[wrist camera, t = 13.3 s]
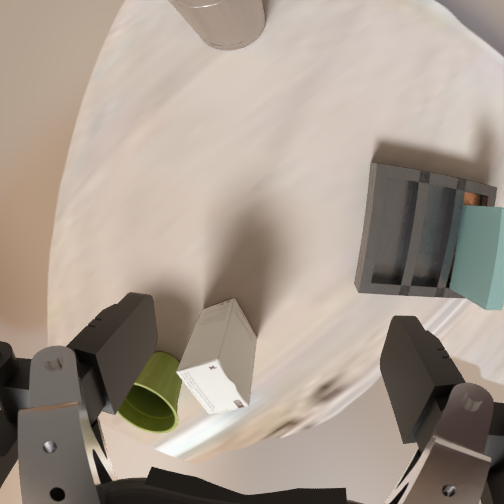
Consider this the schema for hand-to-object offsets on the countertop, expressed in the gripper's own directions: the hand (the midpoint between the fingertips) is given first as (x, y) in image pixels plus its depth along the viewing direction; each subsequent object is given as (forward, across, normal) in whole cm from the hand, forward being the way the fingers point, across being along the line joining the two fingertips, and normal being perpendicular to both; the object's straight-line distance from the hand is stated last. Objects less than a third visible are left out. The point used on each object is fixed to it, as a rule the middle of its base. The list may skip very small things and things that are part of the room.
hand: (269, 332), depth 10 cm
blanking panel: (+30, -27, +4) cm, 40 cm away
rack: (+32, -21, +3) cm, 38 cm away
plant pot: (+32, +18, +31) cm, 48 cm away
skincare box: (+32, +6, +20) cm, 38 cm away
